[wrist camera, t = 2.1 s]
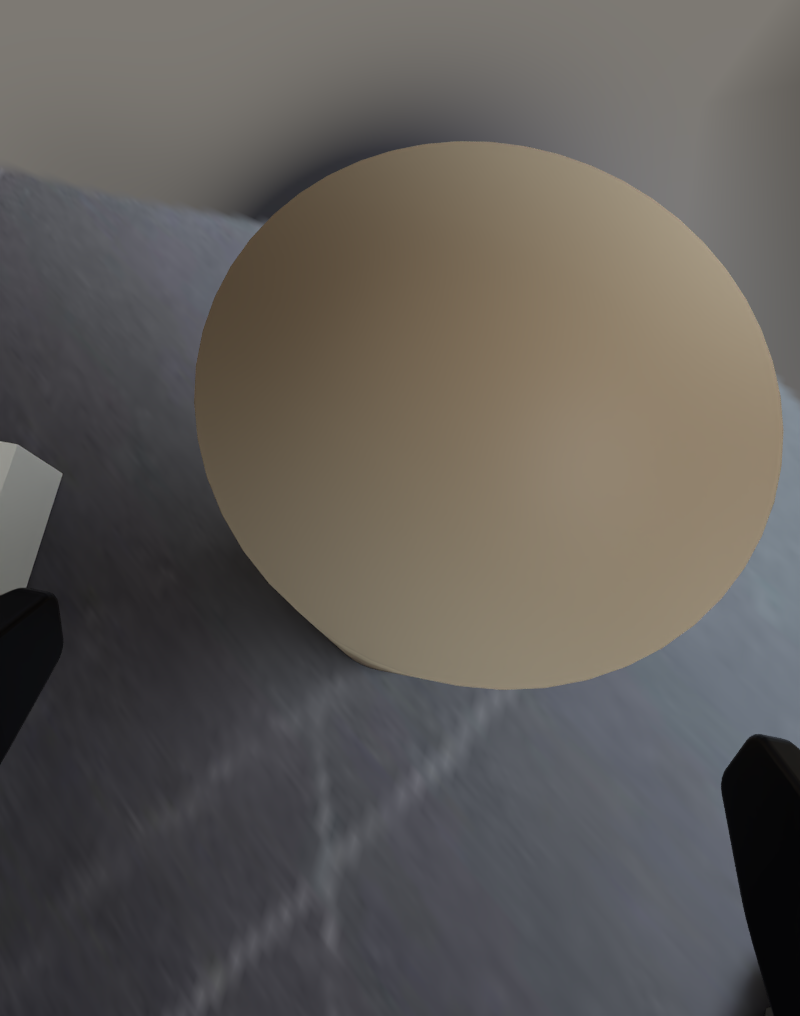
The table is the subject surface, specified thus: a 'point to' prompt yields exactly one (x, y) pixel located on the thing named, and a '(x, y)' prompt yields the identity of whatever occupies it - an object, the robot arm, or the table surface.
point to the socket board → (23, 511)
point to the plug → (488, 416)
